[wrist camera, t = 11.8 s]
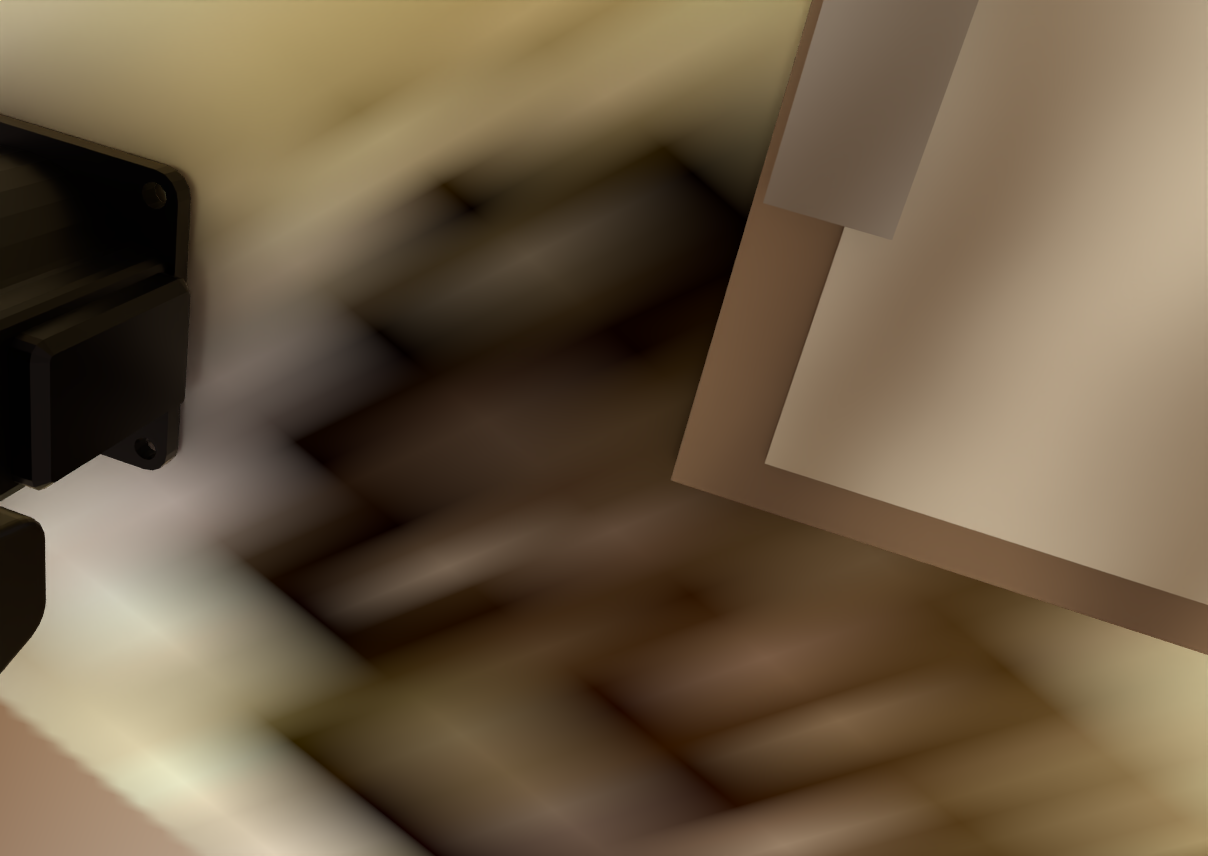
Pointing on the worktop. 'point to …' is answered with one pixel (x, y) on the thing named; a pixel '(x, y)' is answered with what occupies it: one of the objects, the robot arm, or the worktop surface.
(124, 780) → the worktop surface
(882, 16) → the brown framed square board
